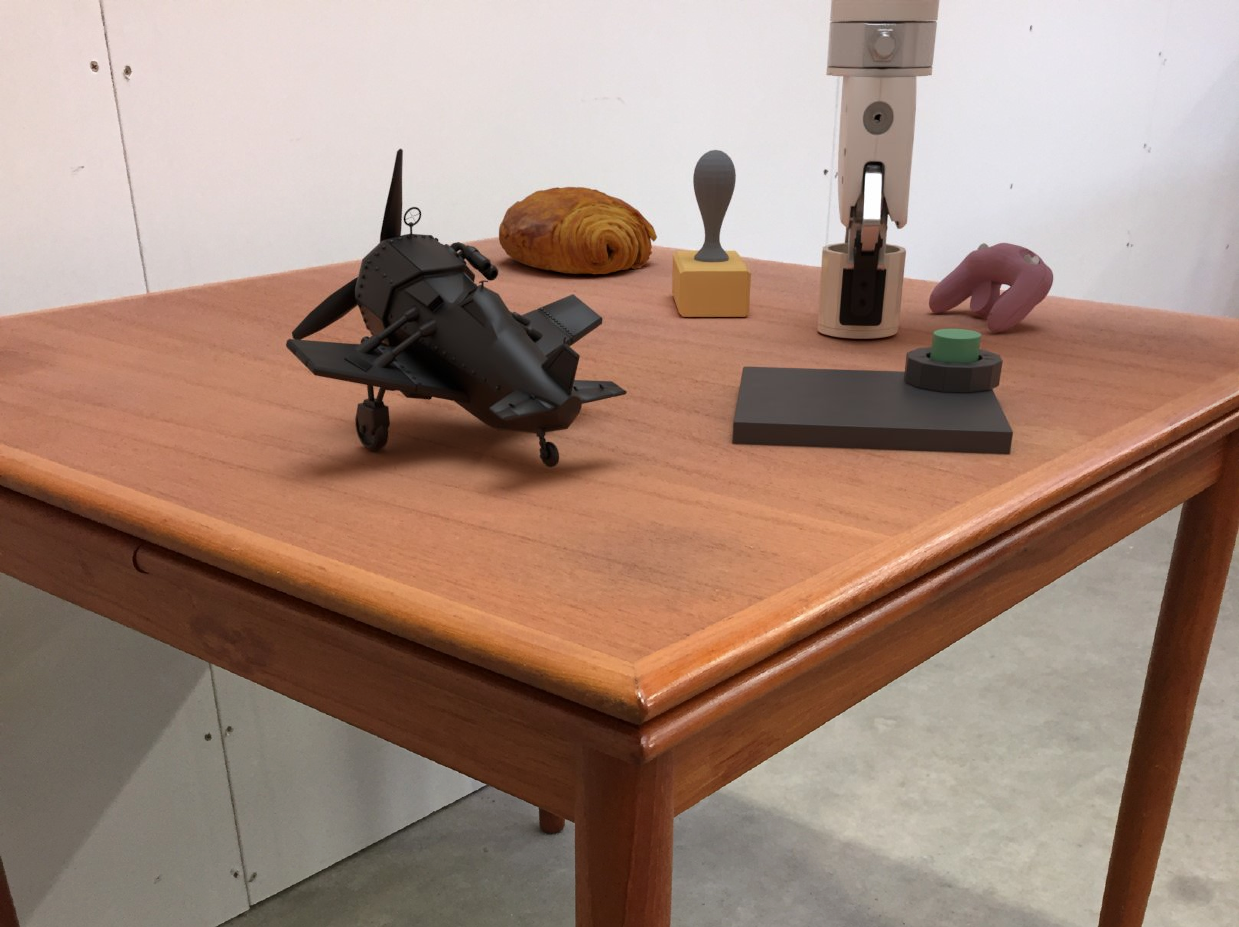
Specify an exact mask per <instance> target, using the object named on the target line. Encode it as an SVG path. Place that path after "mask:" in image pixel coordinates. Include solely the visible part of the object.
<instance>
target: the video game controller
mask: <svg viewBox="0 0 1239 927" xmlns="http://www.w3.org/2000/svg"><path fill="white" fill-rule="evenodd" d="M1053 282H1054V273H1053V270H1052V269H1051V267H1050V266H1048V264H1046V263H1045V262H1044V260H1043V259H1042V258H1041V256H1039V255H1038V254H1037V253H1035V252H1034V251H1033V250H1031V249H1029V248H1027V247H1024V246H1021V245H1017V244H1015V243H1010V242H999V243H996V244H994V245H992V246H991V245H990V246H989V245H988V244H987V243H985V242H984V243H980V244H979V246H978V248H977V249H976V250H972V251H970V252H969V253H968V254H967V255H966V256H965V257H964V259H962V260H961V262H960V263H959V264H958V265H957V266H956V267H955V268H954V269H953V270H951V272H950V273H948V274H947V275H945V277H944V278H943V279H941V281H939V283H937V285H935V287H934V288H933V290H932V292H931V293H930V296H929V301H928V307H929V309H930V311H931V312H932V313H934V314H942V313H945V312H948V311H950V310H952V309H954V308H956V307H958V306H959V305H961V304H962V303H963V302H965V301H967V300H968V299H970V301H969V309H970V311H971V312H973V313H975V314H976V315H978V316H979V317H982V318H985V317H987V318H986V325H987V328H988V330H989V331H990V332H992V333H993V334H995V333H1001V332H1004V331H1008V330H1010V329H1013V328H1014V327H1016V326H1017V325H1018V324H1020V323H1021V322H1022V321H1023V320H1024V319H1025V318H1026V317H1027V316H1028V315H1029V314H1030V313H1031V312H1032V311H1033V310H1034V308H1035V307H1036V306H1038V305H1039V304H1040V303H1042V301H1044V300H1045V299H1046V297H1047V296H1048V294H1049V293H1050V291H1051V289H1052V286H1053V284H1054V283H1053ZM1002 285H1006V286H1008V288H1007V289H1006V290H1004V291H1003V292H1002V293H1001V288H1002Z"/></svg>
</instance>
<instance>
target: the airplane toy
mask: <svg viewBox="0 0 1239 927" xmlns="http://www.w3.org/2000/svg"><path fill="white" fill-rule="evenodd" d="M403 159H404V150H403V148H399V149H398V150H397V151H396V154H395V160H394V165H393V170H392V175H391V180H390V185H389V190H388V194H387V198H386V203H385V206H384V213H383V218H382V223H381V227H380V228H381V229H380V235H379V243H377V244H376V245H375V247H374V248H372V249H371V250H370V251H369V252H368V253H367V254H366V255H365V256H364V257H363V258H362V259H361V262H360V263H361V264H360V268H359V270H358V271H359V272H358V275H357V277H355V278H353V279H352V280H350V281H349V282H347V283H346V284H344V285H343V286H342V287H340V288H339V289H337V290H335V291H334V292H333V293H331V294H329V296H327V297H326V298H325V299H324V300H323V301H321V302H320V303H319V304H318V305H317V306H316V307H314V309H312V311H310V312H309V313H308V314H307V315H306V317H305V318H303V319H302V320H301V322H300V323H299V324H298V325H297V326H296V327H295V328H294V329H293V330H292V331H291V336H292V338H288V339H287V340H286V343H285V347H286V348H287V350H288V351H289V352H291V354H292V355H294V356H295V357H296V358H297V360H299V361H300V362H301V363H302V365H303V366H305V367H306V368H307V369H308V370H309V371H310V372H311V373H312V374H313V375H314V376H316V377H321V378H327V379H332V380H338V381H343V382H348V383H354V384H360V385H364V386H366V390H367V398H365V399H363V401H362V402H360V403H357V407H356V413H355V418H354V421H355V423H354V425H355V432H356V434H357V437H358V438H359V442H360V443H361V445H363V448H366V449H367V450H369V451H373V452H376V451H380V450H382V449H383V448H385V447H386V445H387V443H388V440H389V428H390V426H391V420H390V419H391V418H390V409H389V406H388V405H386V404H385V402H384V401H383V400H384V397H385V394H386V391H390V392H394V391H397V392H400V393H401V394H402V395H403V396H404V397H405V398H407V399H418V400H428V401H431V400H432V398H436V399H440V400H441V399H442V400H447V401H452V402H454V403H455V404H457V405H459V407H461V408H462V409H464V410H465V411H466V412H468V413H470V414H471V415H472V416H473V417H475V418H476V419H478V420H479V421H480V422H482V423H483V424H485V425H487V426H489V427H491V428H493V429H496V430H498V431H505V432H506V431H507V432H517V433H526V434H527V433H528V434H535V435H536V437H537V438H538V439H539V441H538V444H539V446H540V448H539V458H540V459H541V461H542V463H543V464H544V466H546V467H547V468H555V467H556V466H557V465H558V464H559V461H560V452H559V449H558V446H557V445H556V444H555V443H554V442H552V441H547V439H546V438H545V437H546V436H547V434H546V433H552V432H559V431H563V430H568V429H569V427H570V426H571V425H572V424H573V423H574V421H575V420H576V418H577V417H578V416H579V414H580V412H581V411H582V406H583V405H585V404H588V403H593V402H594V403H595V402H597V401H603V400H608V399H612V398H616V397H621V396H625V395H626V394H627V392H628V391H626V390H625V389H624V388H622V386H619V384H616V383H615V382H614V381H613V380H589V379H588V380H587V379H585V380H584V379H576V375H577V370H578V366H579V362H580V357H581V355H580V354H579V353H578V352H577V351H575V349H573V348H572V347H571V346H574V344H576V343H577V342H579V341H580V340H581V339H583V338H584V337H585V336H587V335H588V334H590V333H591V332H593V331H594V330H596V329H597V328H598V327H600V326H601V325H602V324H603V317H602V316H601V315H600V314H599V313H598V312H596V311H595V310H593V309H592V308H591V307H590V306H588V305H587V304H586V303H585V302H584V301H582V299H580V298H579V297H578V296H576V295H575V294H574V293H573V294H569V295H568V296H565V297H562V298H560V299H558V300H555V301H553V302H550V303H548V304H545V305H543V306H541V307H538V308H536V309H533V310H531V311H528V312H526V313H524V314H520V313H518V312H517V311H511V310H510V309H509V308H508V307H507V305H506V304H505V302H504V300H503V299H502V297H501V296H500V294H499V293H497V292H496V291H493V290H492V289H490V288H488V287H486V286H485V284H484V283H489V281H495V280H496V279H497V278H498V277H499V276H498V275H499V269H498V267H497V266H496V265H494V264H492V262H491V260H490V259H489V258H488V257H487V256H485V255H484V254H482V253H481V252H480V250H479V249H477V248H476V246H473V245H468V244H467V245H466V244H465V243H463V242H460V241H457V242H456V241H455V242H452V243H451V244H450V245H449V244H448V243H445V244H443V243H441V242H440V240H439V239H438V237H434V235H432V234H418V233H413V227H414V226H416V225H417V224H418V223H419V222H420V221H421V218H422V211H421V209H420V208H419V207H417V206H411V207H409V208H408V209H407V210H406V211H405V212H404V215H403V165H404V164H403V161H404V160H403ZM413 210H417V212H418V213H417V214H415V215H413V214H412V213H411V211H413ZM409 213H410V217H407V214H409ZM415 216H418V218H417V220H415V218H414V217H415ZM406 217H407V218H406ZM411 218H412V219H413V221H414V222H407V220H408V219H411ZM403 222H404V225H405V226H408V227H409V233H406V234H402V228H403V227H402V223H403ZM467 262H468V264H469V265H470V266H471V268H473V269H474V270H476V271H478V272H479V273H480V274H481V275H482V276H483V277H484V278H485V279H486V280H484V279H481V280H480V281H478V284H479V285H477V283H475V280H476V274H475V273H474V272H473V271H472V270H471V268H470V267H468V264H467ZM356 307H358V309H359V311H360V315H361V317H362V321H363V323H364V326H365V328H366V330H367V331H369V333H370V335H371V336H370V337H369V336H363V337H362V338H361V339H360V343H348V342H347V343H346V342H337V341H336V342H334V341H321V340H310V339H306V338H308V337H310V336H313V335H314V334H316V333H318V332H321V331H322V330H324V329H325V328H327V327H329V326H331V325H332V324H334V323H335V322H337V321H338V320H340V319H342V318H344V317H346V315H347V314H349V313H350V312H351V311H352V310H354V309H355V308H356ZM374 387H376V388H379V389H378V392H377V395H376V397H375V390H374Z"/></svg>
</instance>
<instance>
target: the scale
mask: <svg viewBox="0 0 1239 927" xmlns="http://www.w3.org/2000/svg"><path fill="white" fill-rule="evenodd" d="M930 354H931V346H925V347H924V346H923V347H918V348H915V349H912V350H910V351H907V352H906V356H905V365H904V371H903V370H902V371H897V370H869V369H867V370H866V369H837V368H805V367H803V368H802V367H774V366H773V367H772V366H742V372H741V377H740V383H739V388H738V394H737V400H736V406H735V411H734V418H733V423H732V440H731V441H732V444H733V445H750V446H755V445H756V446H777V447H778V446H779V447H803V448H804V447H805V448H826V449H827V448H829V449H853V450H855V449H856V450H882V451H887V450H888V451H906V452H907V451H908V452H909V451H910V452H936V453H960V454H961V453H962V454H987V455H988V454H990V455H1010V454H1011V449H1012V442H1013V435H1014V431H1013V429H1012V427H1011V424H1010V423H1009V420H1008V418H1007V416H1006V415H1005V412H1004V410H1003V408H1002V406H1001V404H1000V401H999V400H998V397H997V396H996V393H995V391H994V389H995V388H997V387H999V386H1000V381H1001V375H1002V367H1003V362H1004V361H1003V358H1002V357H1001V355H1000V354H998V353H994V352H992V351H989V350H986V349H981V348H980V349H979V356H978V361H977V362H969V363H955V362H944V361H937V360H933V359H930Z"/></svg>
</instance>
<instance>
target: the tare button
mask: <svg viewBox="0 0 1239 927" xmlns="http://www.w3.org/2000/svg"><path fill="white" fill-rule="evenodd" d="M981 341H982V334H981V333H980V332H978V331H975V330H972V329H965V328H940V329H937V330H934V331H933V332H932V338H931V346H930V347H931V354H930V359H933V360H937V361H944V362H955V363H969V362H977V361H978V356H979V349H981Z"/></svg>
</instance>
